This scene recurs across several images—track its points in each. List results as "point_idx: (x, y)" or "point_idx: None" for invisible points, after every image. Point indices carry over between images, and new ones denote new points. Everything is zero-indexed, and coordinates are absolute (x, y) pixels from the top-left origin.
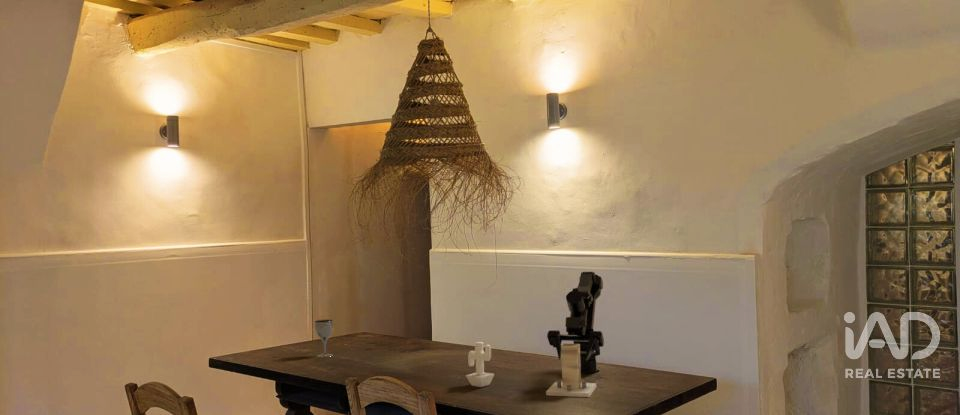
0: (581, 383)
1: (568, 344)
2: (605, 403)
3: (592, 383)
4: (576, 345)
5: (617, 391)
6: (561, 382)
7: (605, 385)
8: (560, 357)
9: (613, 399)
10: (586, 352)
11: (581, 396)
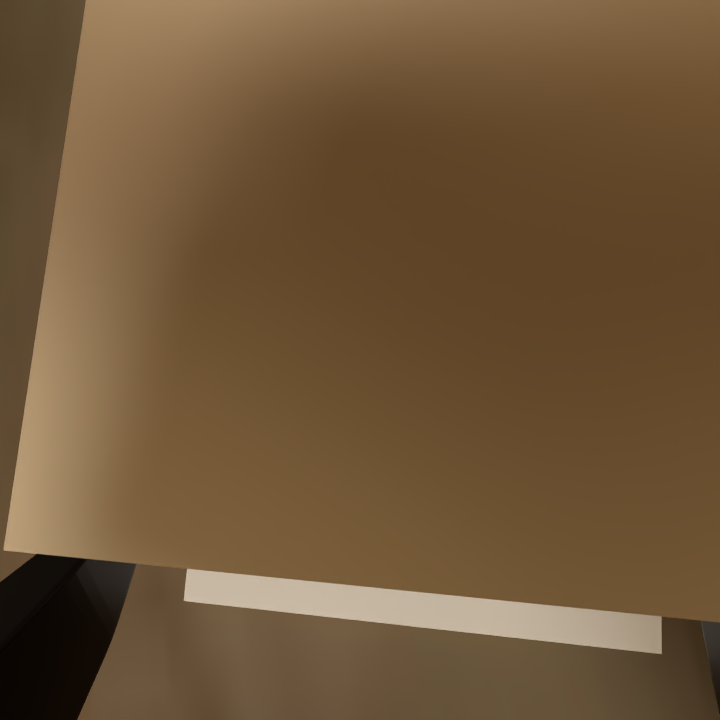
0: (339, 585)
1: (512, 389)
2: None
3: (222, 594)
4: (126, 179)
5: (8, 426)
6: (579, 624)
7: (113, 671)
8: (716, 658)
9: (45, 152)
10: (26, 616)
11: None
